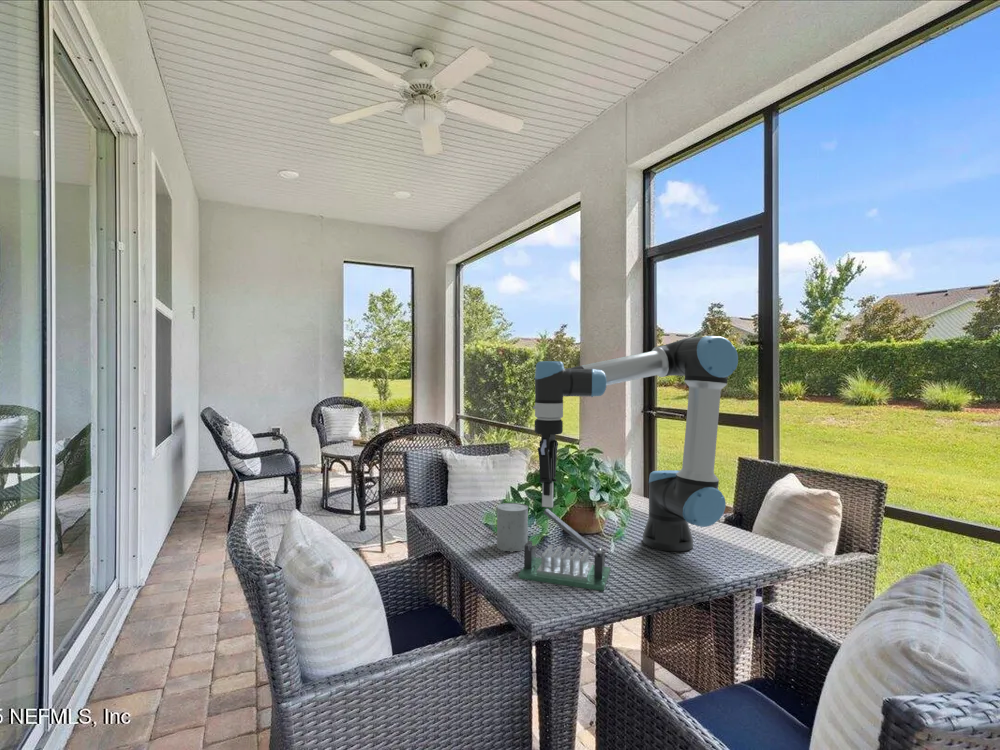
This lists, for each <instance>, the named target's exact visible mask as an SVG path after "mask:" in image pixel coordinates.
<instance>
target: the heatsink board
mask: <svg viewBox="0 0 1000 750" xmlns="http://www.w3.org/2000/svg"><path fill="white" fill-rule="evenodd" d="M553 546H554V545H553V544H549V545H548V546H547V547H546V549H545V550H544V552H543V553H542V554H541V557H536V550H537V549H536V547H537V546H536V545H533V541H531V540H528V542H527V543H526V544H525V545H524V551H523V552H524V553H523V554H524V556H523V557H524V558H523V559H524V560H523V561H524V563H523V568H522V569H521V570H520V571H519V572H518V579H522V580H527V581H532V582H533V581H534V582H540V583H548V584H554V585H555V584H556V585H561V586H567V587H575V588H582V589H587V590H588V589H589V590H595V591H601V592H604V591H605V589H606V586H607V582H608V580H609V576H610V574H611V567H609V566H606V564H605V561H606V559H605V558H606V555H605V554H606V552H605V551H604V550H603V551H602V553H601V555H600V556H599V555H597V551H596V552H595V555H594V559H593V560H594V561H593V562H594V563H593V562H590V561H589V560H590V557H589V555H590V554H589V553H590V551H589V550H588V549H587V548H585V550H584V552H583V554H582V556H581V558H580V553H581V552H580V548H578V547H577V548H576V549H575V550H574V552H572V555H571V547H570V546H567V547H566V548H565V550H564V552H562V545H558V546H557V548H556V549H555V550H553Z"/></svg>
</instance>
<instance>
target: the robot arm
mask: <svg viewBox="0 0 1000 750" xmlns="http://www.w3.org/2000/svg"><path fill="white" fill-rule="evenodd" d="M738 363H739V354H738V352H737V349H736V347H735V345H733V343H732V342H731V341H730V340H729V339H727V338H725V337H723V336H720V335H719V336H716V335H706V336H698V337H688V338H687V337H686V338H683V339H680V340H677V341H676V340H675V341H673V342H670V343H666V344H663V345H660V346H659V345H658V346H655V347H653V348H652V350H651V351H646V352H641V353H635V354H632V355H626V356H622V357H617V358H612V359H606V360H602V361H597V362H591V363H588V364H583V365H579V366H573V367H569V368H567V367H566V368H565V367H564V362H562V361H559V360H558V361H557V360H556V361H554V360H553V361H552V360H551V361H550V360H547V361H546V360H542V361H538V362H537V363H535V371H534V373H535V374H534V375H535V376H534V405H533V406H532V409H533V410H534V417H535V418H536V419H535V420H534V433H536V434H537V435H541V437H540V441H539V447H538V448H537V452H538V459H539V460H538V462H539V463H538V465H539V480H538V482H539V483H542V484H541V485H542V486H541V508H551V509H552V508H553V507H554V483H555V482H557V478H556V477H557V476H556V471H557V459H558V458H557V457H558V453H557V452H558V446H559V442H558V440H556V435H561V434H563V433H564V432H563V430H564V429H563V427H564V425H563V424H564V423H563V422H564V421H563V420H562V418H563V417H564V397H591V398H594V397H601V396H603V395H604V394H605V392H606V389H607V386H612V385H616V384H620V383H625V382H631V381H635V380H639V379H645V378H649V377H654V376H657V377H660V378H664V377H669V376H670V377H671V376H681V377H682V376H684V380H683V382H684V383H685V384H686V385H687V386H688V388H689V389H688V396H687V398H688V400H687V411H686V422H685V431H684V432H685V433H684V444H683V455H682V467H681V469H680V470H676V469H675V470H669V469H667V470H653V471H652V472H650V473H649V478H648V519H647V521H646V524H645V528H644V530H643V532H642V543H643V544H645V546H647V547H650V548H651V549H654V550H655V549H656V550H659V551H664V552H686V551H689V550H692V549H693V548H694V538H693V535H692V531H691V528H690V525H694V526H696V527H701V528H708V527H710V526H713V525H715V524H717V522H718V521H720V520H721V518H722V517H723V515H724V513H725V511H726V505H727V504H726V499H725V496H724V495H723V493H722V491H720V490H719V484H720V480H719V478H718V476H717V475H716V474H715V462H716V450H717V437H718V428H719V427H718V425H719V414H720V403H721V394H722V389H724V388H725V387H726V386H727V385H728V380H729V379H728V378H729V376H731V375H732V374H733V372H734V371H736V369H737V367H738ZM689 524H690V525H689Z"/></svg>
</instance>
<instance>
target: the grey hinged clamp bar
mask: <svg viewBox="0 0 1000 750" xmlns="http://www.w3.org/2000/svg"><path fill="white" fill-rule="evenodd" d="M543 514H544V515H545V516H547V517H548V518H549V519H550V520H551V521H553V522H554V523H555V524H556V525H557V526H558V527H560V528H561V529H562V530H564V532H566V533H567V534H569V536H571V537H572V538H573V539H575V540H576V541H577V542H578V543H580V545H582V546H583V547H584V548H585V549H588V550H589V553H594V551H595V550H596V547H595V546H594V545H592V543H590V542H589V541H588V540H587V539H586V538H584V537H583V536H582V535H580V534H579V533H578V531H576V530H575V529H574V528H572V526H570V525H568V524H567V523H566V522H565V521H563V520H562V519H561V518H560V517H559V516H557V515H556V514H555V513H554V512H553V511H551V510H550V509H549V507H546V509H544V511H543ZM597 548H598V549H597V550H596V552H597V555H599V556H600V555H601V553H602V551H604V548H603V547H602V546H599V547H597Z"/></svg>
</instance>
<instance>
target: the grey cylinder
mask: <svg viewBox="0 0 1000 750" xmlns="http://www.w3.org/2000/svg"><path fill="white" fill-rule="evenodd" d="M496 508H497V510H496V512H497V513H496V515H497V517H496V522H497V523H496V524H497V525H496V548H497V549H498V550H499V549H500V550H499V551H502V550H503V551H502V552H505V551H510V552H509V553H512V552H511V551H520V550H524V545H525V544H526V543H527V542H528V541H529V540H528V535H529V534H528V533H529V531H528V530H529V528H528V527H529V526H528V525H529V524H528V522H529V519H528V518H529V517H528V516H529V506H528V505H526V504H524V503H519V502H505V503H500V504H498V505H497V506H496ZM520 552H521V551H520Z"/></svg>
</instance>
